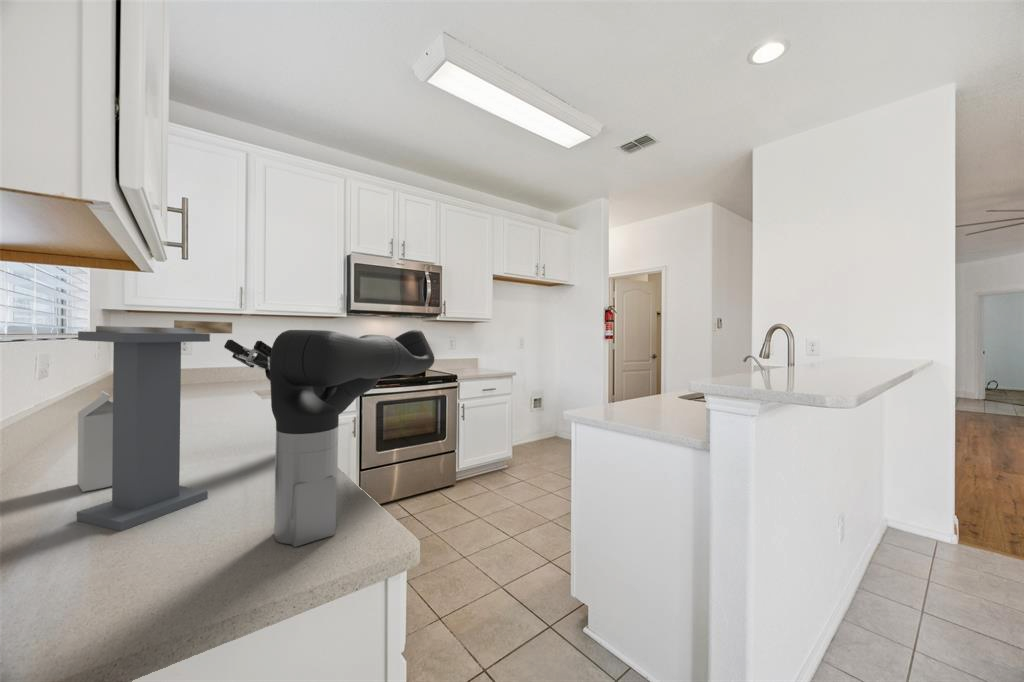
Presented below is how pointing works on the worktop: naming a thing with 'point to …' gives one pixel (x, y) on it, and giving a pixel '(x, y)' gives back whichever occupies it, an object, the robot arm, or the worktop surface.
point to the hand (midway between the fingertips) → (241, 343)
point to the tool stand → (144, 429)
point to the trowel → (178, 328)
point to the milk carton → (95, 444)
